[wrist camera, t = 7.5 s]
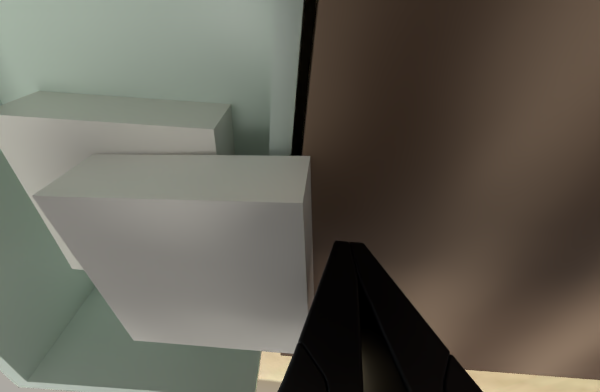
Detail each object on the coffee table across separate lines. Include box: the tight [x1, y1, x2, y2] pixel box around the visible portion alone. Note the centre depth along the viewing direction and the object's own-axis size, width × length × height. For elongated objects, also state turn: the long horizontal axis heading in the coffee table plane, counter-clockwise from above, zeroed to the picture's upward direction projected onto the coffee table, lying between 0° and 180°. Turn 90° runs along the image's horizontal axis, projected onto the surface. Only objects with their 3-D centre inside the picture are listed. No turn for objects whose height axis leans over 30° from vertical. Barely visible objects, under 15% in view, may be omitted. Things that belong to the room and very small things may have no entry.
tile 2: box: [32, 154, 314, 354], centre depth 9 cm, size 6×6×2 cm
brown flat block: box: [281, 0, 600, 380], centre depth 10 cm, size 18×16×3 cm
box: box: [0, 0, 305, 392], centre depth 9 cm, size 10×16×5 cm, turn 175°
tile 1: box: [0, 91, 235, 270], centre depth 10 cm, size 6×6×2 cm
